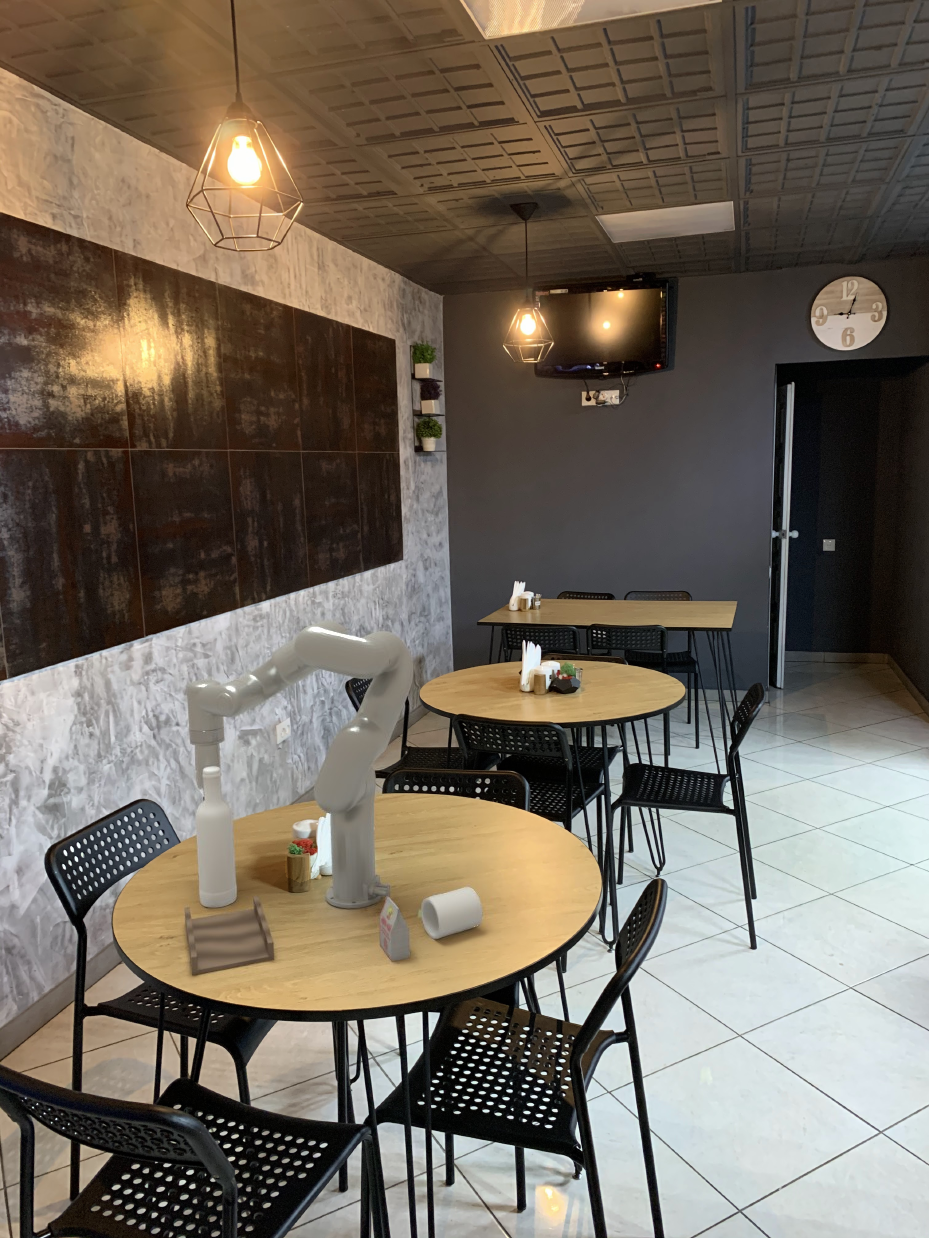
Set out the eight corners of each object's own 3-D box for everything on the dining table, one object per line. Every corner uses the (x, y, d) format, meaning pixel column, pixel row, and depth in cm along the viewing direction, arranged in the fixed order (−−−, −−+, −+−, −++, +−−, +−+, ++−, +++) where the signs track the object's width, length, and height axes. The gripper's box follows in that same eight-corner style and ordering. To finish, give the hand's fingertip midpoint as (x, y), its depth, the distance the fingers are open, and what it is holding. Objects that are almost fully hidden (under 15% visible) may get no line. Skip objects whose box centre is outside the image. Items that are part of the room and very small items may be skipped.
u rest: (185, 923, 183) (184, 907, 183) (258, 911, 188) (257, 895, 188) (192, 975, 163) (191, 957, 162) (274, 959, 168) (273, 942, 168)
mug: (483, 932, 178) (482, 894, 177) (440, 945, 172) (439, 907, 171) (452, 910, 188) (452, 874, 187) (411, 922, 182) (410, 885, 182)
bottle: (242, 892, 198) (235, 763, 194) (229, 908, 190) (222, 774, 186) (208, 891, 198) (200, 762, 195) (194, 907, 191) (186, 773, 187)
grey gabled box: (397, 941, 174) (396, 893, 173) (409, 957, 168) (408, 907, 167) (379, 946, 173) (378, 897, 171) (391, 961, 167) (390, 911, 165)
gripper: (187, 729, 203) (192, 806, 206) (191, 745, 189) (196, 827, 192) (221, 726, 206) (225, 801, 208) (227, 741, 192) (231, 822, 194)
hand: (211, 813), depth 200 cm, fingers closed
